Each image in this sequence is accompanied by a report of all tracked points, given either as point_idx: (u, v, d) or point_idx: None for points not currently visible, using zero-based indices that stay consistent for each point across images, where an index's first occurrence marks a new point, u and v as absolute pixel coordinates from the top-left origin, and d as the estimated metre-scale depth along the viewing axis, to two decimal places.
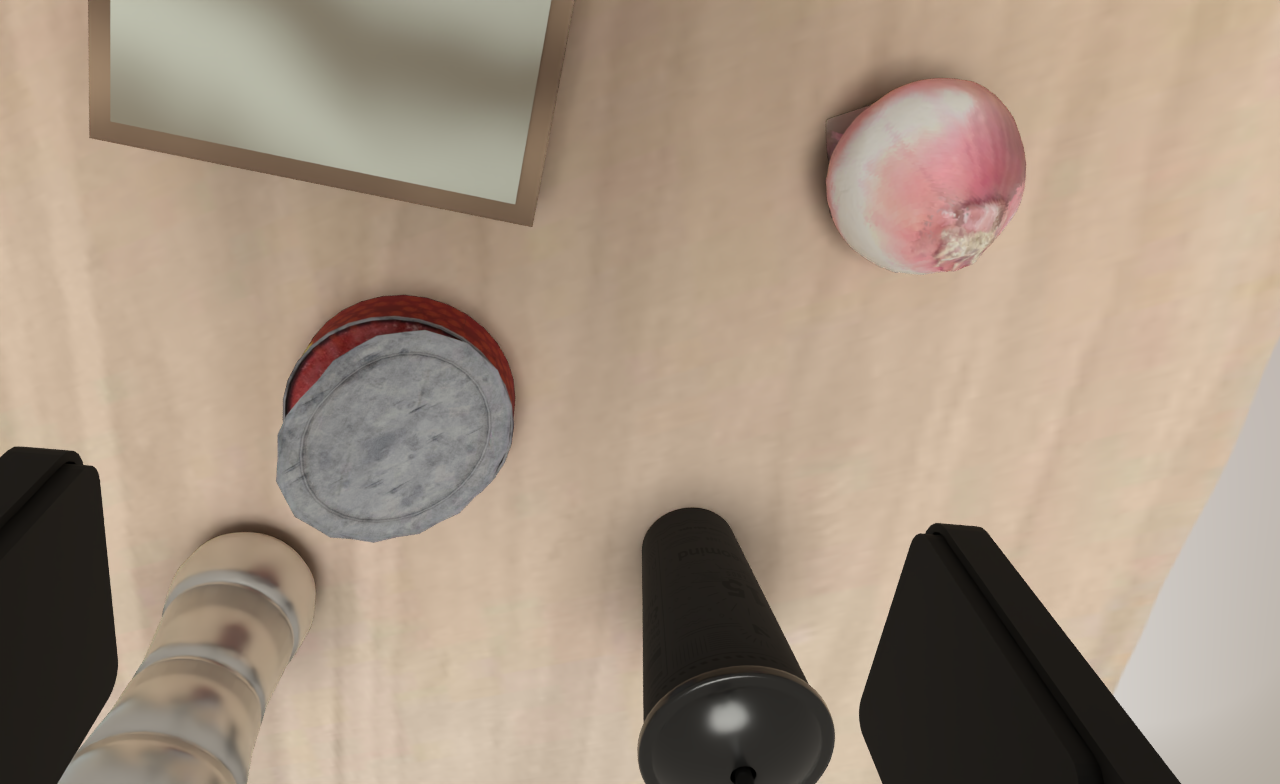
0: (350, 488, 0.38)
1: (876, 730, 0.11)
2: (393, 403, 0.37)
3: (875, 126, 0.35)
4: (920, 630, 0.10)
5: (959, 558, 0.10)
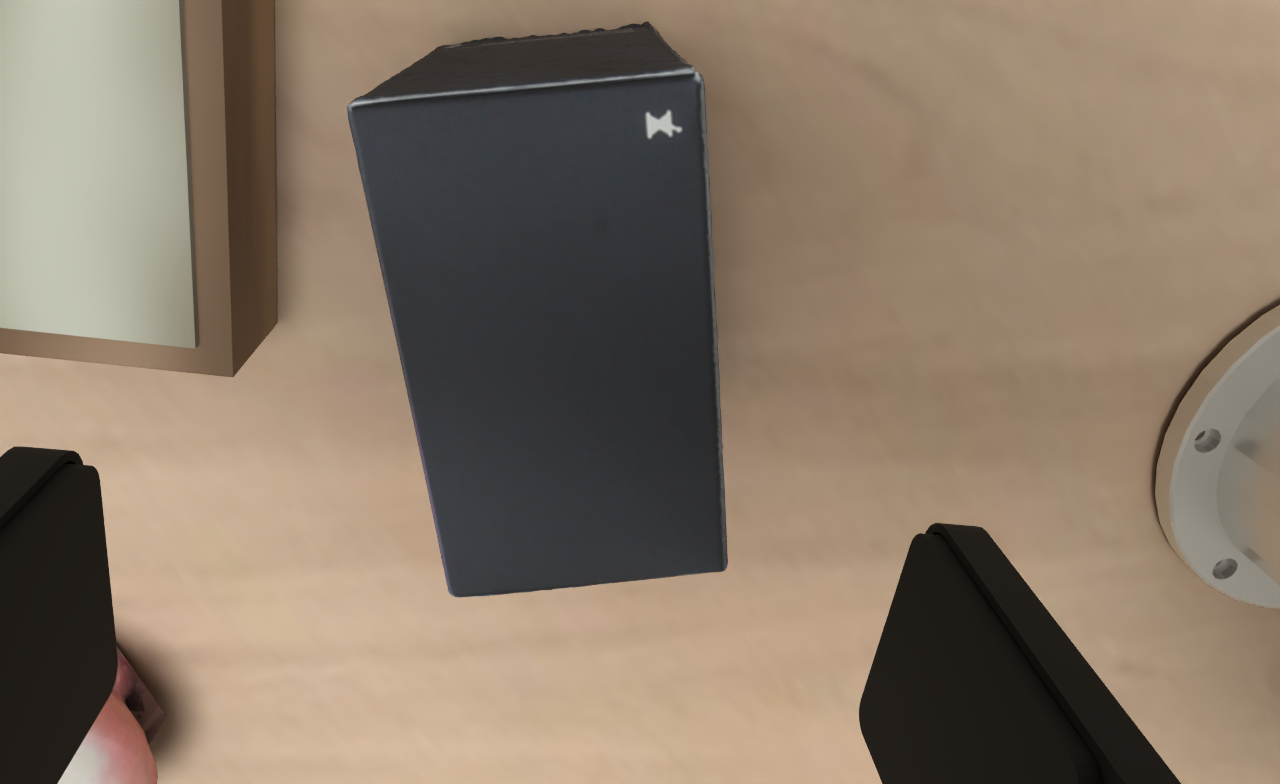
0: None
1: (876, 730, 0.11)
2: None
3: None
4: (920, 630, 0.10)
5: (959, 558, 0.10)
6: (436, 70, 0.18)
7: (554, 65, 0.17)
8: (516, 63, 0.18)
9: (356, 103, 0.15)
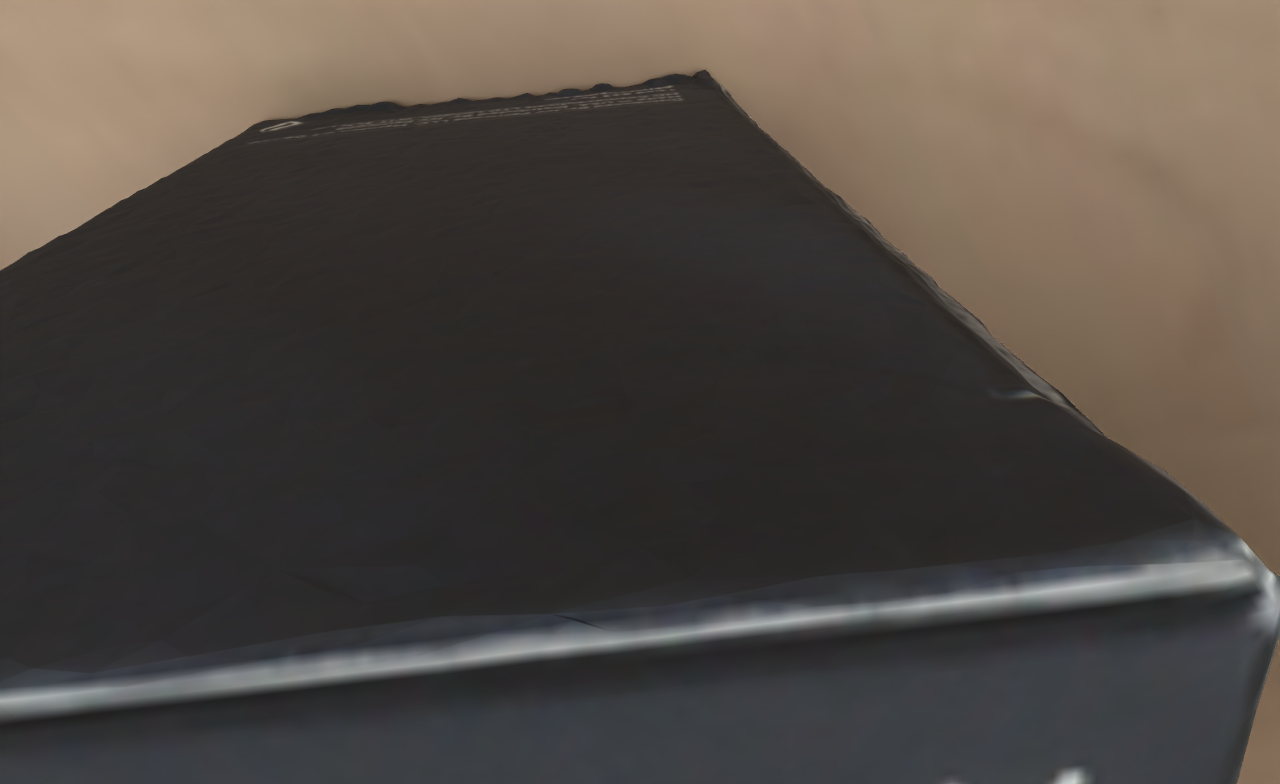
0: None
1: None
2: None
3: None
4: None
5: None
6: (61, 297, 0.05)
7: (449, 336, 0.04)
8: (327, 285, 0.05)
9: None
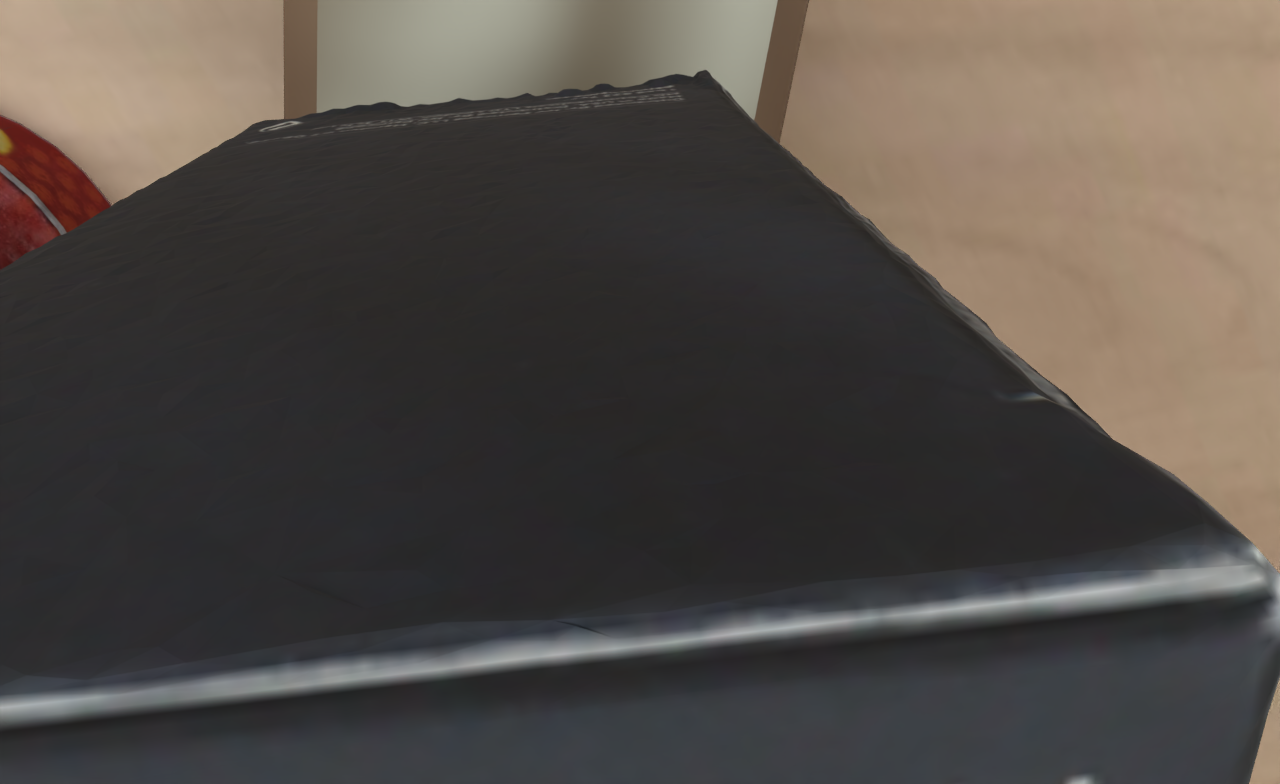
0: None
1: None
2: None
3: None
4: None
5: None
6: (58, 297, 0.05)
7: (450, 336, 0.04)
8: (327, 285, 0.05)
9: None
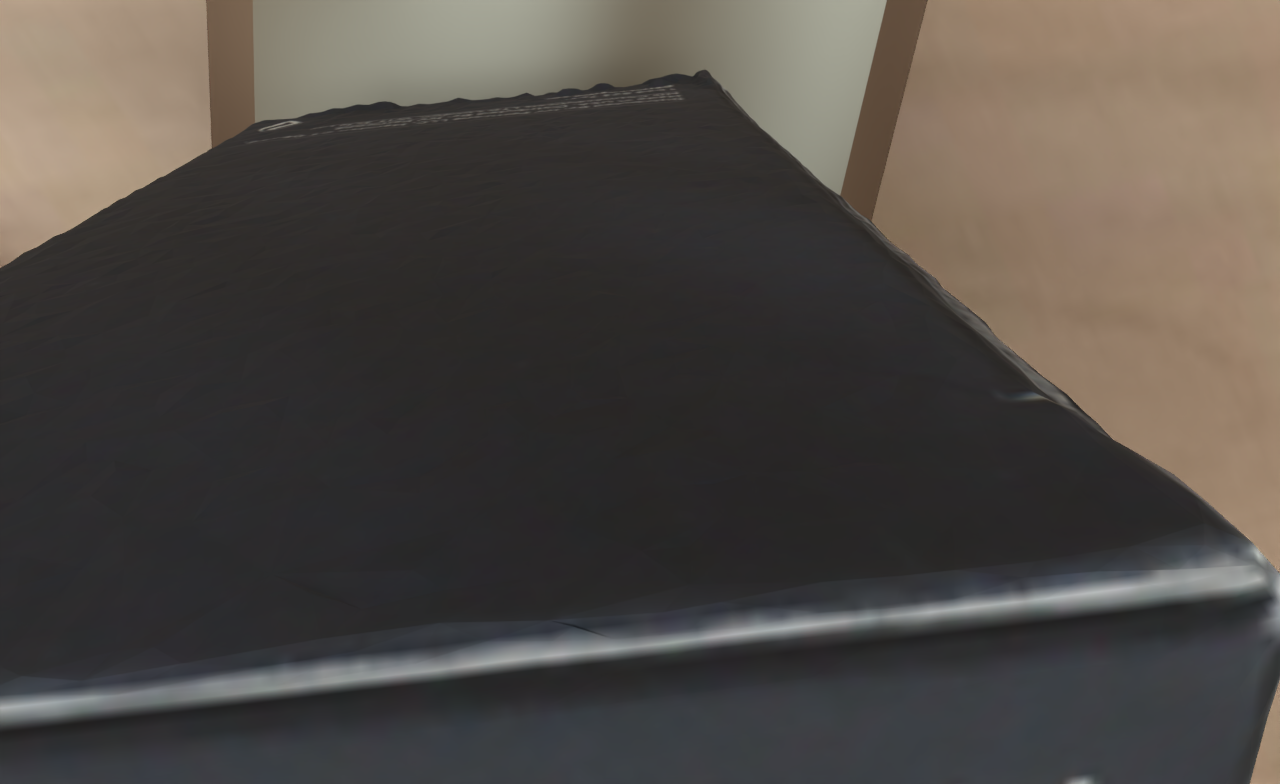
0: None
1: None
2: None
3: None
4: None
5: None
6: (56, 297, 0.05)
7: (449, 336, 0.04)
8: (326, 285, 0.05)
9: None
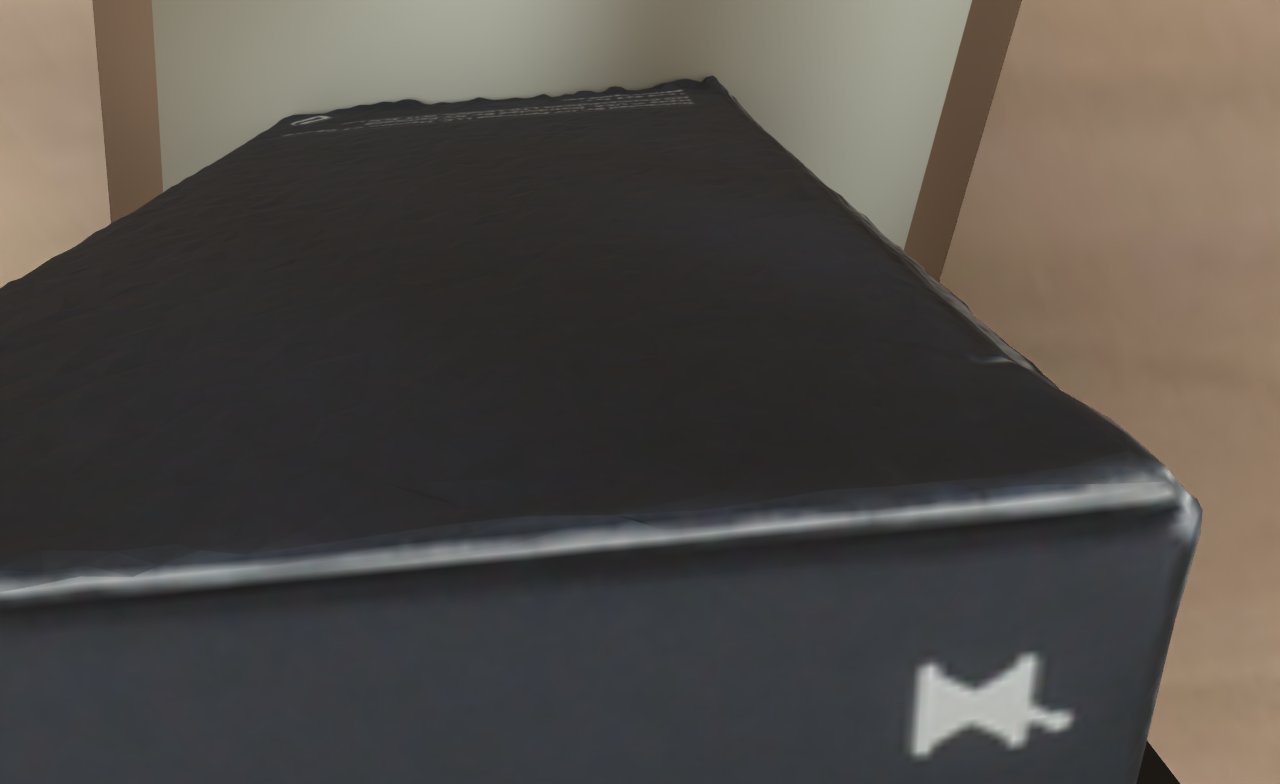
0: None
1: None
2: None
3: None
4: None
5: None
6: (141, 270, 0.06)
7: (502, 306, 0.05)
8: (386, 263, 0.06)
9: None
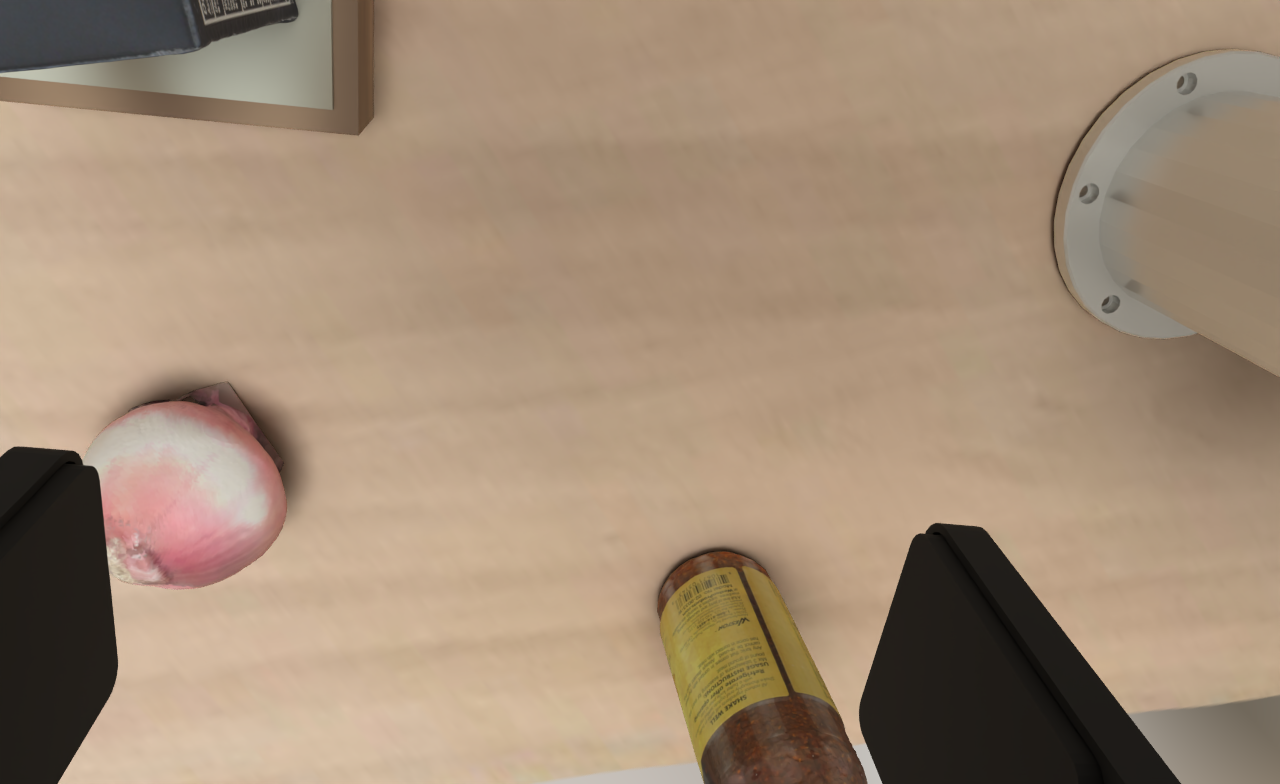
0: None
1: (875, 730, 0.11)
2: None
3: (211, 443, 0.35)
4: (920, 630, 0.10)
5: (959, 558, 0.10)
6: None
7: None
8: None
9: None
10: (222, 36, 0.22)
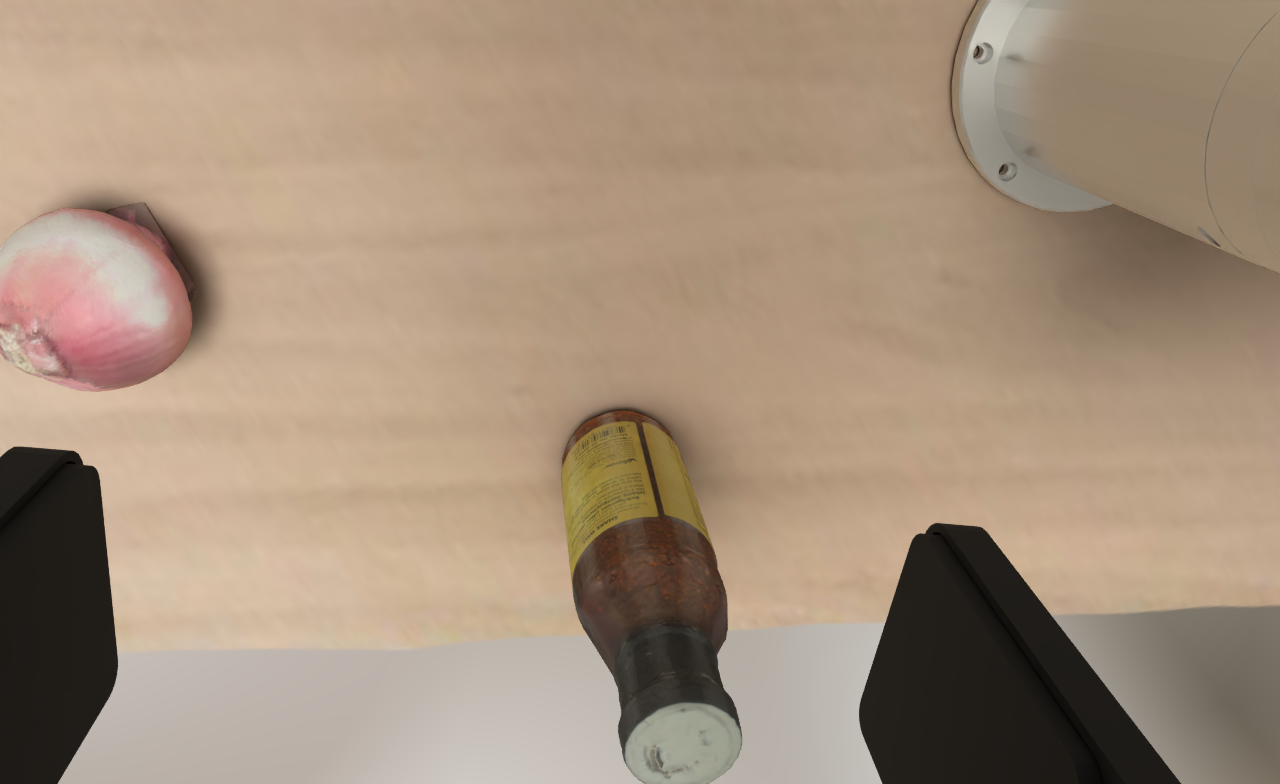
0: None
1: (876, 730, 0.11)
2: None
3: (114, 243, 0.37)
4: (920, 630, 0.10)
5: (959, 558, 0.10)
6: None
7: None
8: None
9: None
10: None
